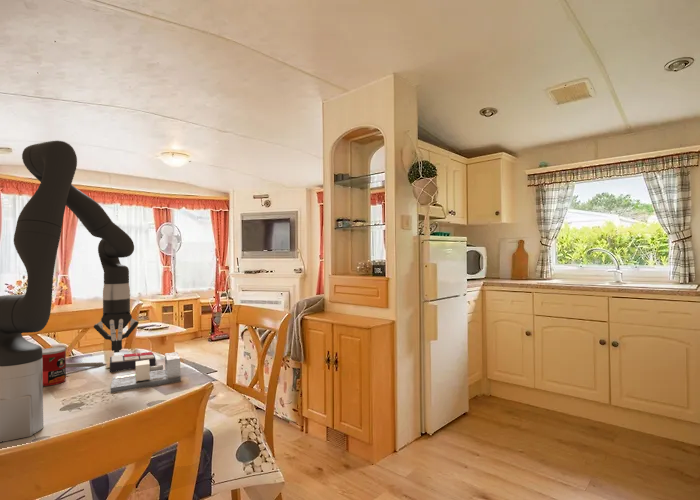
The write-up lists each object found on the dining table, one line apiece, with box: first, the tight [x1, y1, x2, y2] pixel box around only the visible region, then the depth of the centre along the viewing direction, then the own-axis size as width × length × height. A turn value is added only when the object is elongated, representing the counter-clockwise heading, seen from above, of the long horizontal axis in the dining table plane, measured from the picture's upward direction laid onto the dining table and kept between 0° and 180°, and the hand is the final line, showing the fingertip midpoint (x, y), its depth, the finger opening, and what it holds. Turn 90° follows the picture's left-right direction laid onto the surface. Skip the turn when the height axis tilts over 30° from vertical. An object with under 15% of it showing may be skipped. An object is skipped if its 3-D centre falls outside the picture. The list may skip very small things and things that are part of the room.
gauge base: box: [110, 351, 182, 394], centre depth 131 cm, size 12×20×8 cm, turn 119°
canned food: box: [42, 346, 67, 387], centre depth 133 cm, size 8×8×11 cm
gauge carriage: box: [135, 360, 164, 381], centre depth 133 cm, size 10×8×5 cm
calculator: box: [109, 351, 157, 373], centre depth 152 cm, size 11×4×15 cm
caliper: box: [66, 361, 108, 369], centre depth 146 cm, size 20×1×6 cm, turn 137°
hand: (116, 351), depth 126 cm, fingers closed
